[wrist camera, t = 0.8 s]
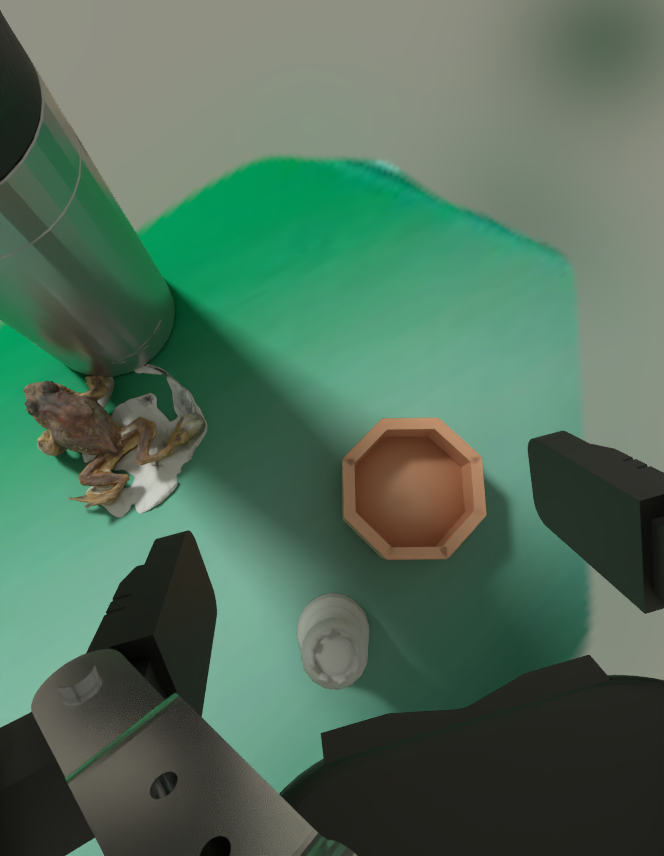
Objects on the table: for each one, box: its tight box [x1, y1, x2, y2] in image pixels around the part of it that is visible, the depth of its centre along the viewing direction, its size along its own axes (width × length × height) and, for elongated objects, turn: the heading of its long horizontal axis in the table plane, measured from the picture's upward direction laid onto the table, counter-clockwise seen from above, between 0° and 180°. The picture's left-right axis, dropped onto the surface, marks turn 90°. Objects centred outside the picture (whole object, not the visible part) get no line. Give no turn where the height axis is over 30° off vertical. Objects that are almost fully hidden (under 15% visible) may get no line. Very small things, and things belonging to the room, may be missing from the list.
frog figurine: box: [24, 364, 207, 517], centre depth 33 cm, size 12×12×4 cm
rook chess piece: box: [297, 593, 370, 690], centre depth 27 cm, size 4×4×8 cm
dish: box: [341, 418, 487, 560], centre depth 32 cm, size 8×8×3 cm
